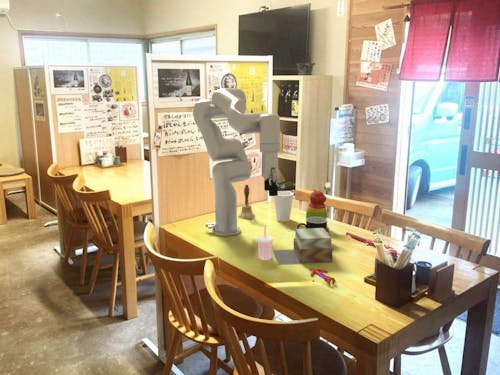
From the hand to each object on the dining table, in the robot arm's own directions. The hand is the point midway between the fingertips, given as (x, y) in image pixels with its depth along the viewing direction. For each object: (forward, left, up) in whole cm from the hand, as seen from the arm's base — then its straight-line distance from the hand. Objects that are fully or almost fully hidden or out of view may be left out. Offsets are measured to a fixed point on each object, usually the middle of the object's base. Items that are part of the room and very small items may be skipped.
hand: (270, 192), depth 170 cm
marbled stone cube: (+15, -6, -23) cm, 28 cm away
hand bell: (-5, +50, -25) cm, 56 cm away
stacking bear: (+25, +28, -25) cm, 45 cm away
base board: (+11, -6, -25) cm, 28 cm away
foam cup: (+12, +43, -25) cm, 51 cm away
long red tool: (+41, +7, -25) cm, 49 cm away
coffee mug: (+19, +11, -25) cm, 33 cm away
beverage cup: (-3, -6, -25) cm, 26 cm away
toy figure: (+14, -23, -25) cm, 37 cm away
